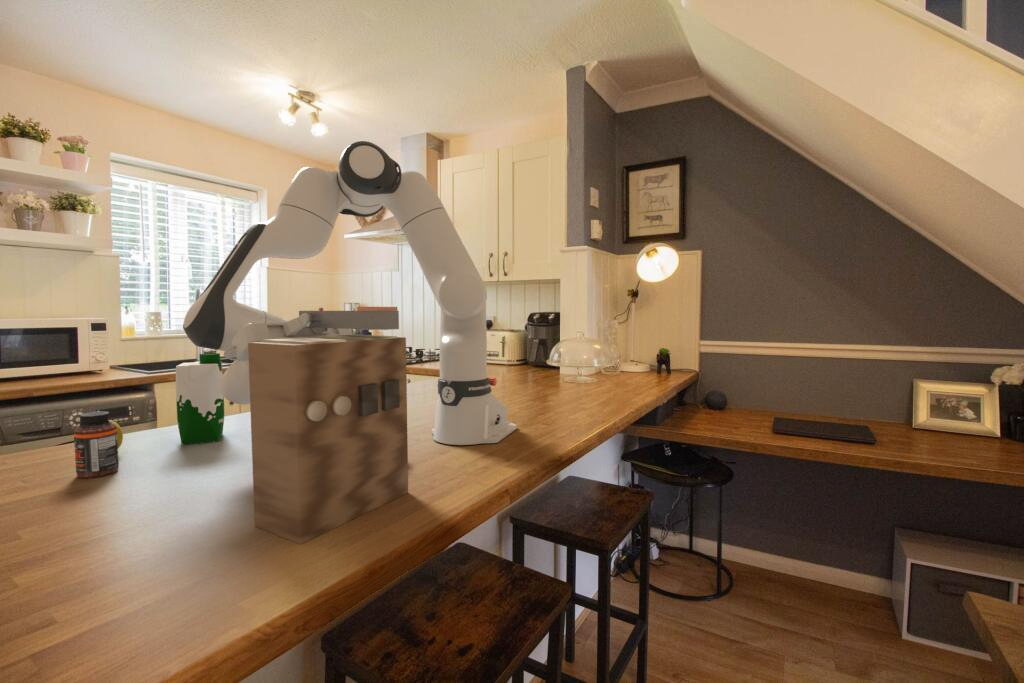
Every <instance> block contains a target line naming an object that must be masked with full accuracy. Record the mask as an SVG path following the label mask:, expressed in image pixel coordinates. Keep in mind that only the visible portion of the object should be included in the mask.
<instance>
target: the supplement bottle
mask: <svg viewBox="0 0 1024 683" xmlns="http://www.w3.org/2000/svg"><path fill="white" fill-rule="evenodd" d="M110 418H111V417H110V412H109V411H103V410H102V411H101V410H100V411H98V410H97V411H91V412H86V413H81V414H80V416H79V419H80V420H79V422H80V423H79V426H77V427H75V428H74V431H73V442H74V456H75V458H74V459H75V472H76V476H77V477H79V478H82V479H92V478H93V477H94V478H100V477H99V476H101V477H105V476H108V475H111V474H113V473H115V472H117V471H118V470H119V468H120V466H119V464H120V463H119V448H118V441H117V427H116V425H115V424H114V423H112V422H110V421H108V420H109V419H110ZM104 475H105V476H104ZM94 478H93V479H94Z"/></svg>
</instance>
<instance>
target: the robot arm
mask: <svg viewBox="0 0 1024 683" xmlns="http://www.w3.org/2000/svg"><path fill="white" fill-rule="evenodd" d="M383 208H385V209H387V210H388V211H389V212H390V213H391V214H392V215H393V216H394V218H395V219H396V221H397V223H398V225H399V228H400V229H401V232H402V233H403V235H404V236H405V239H406V240H407V243H408V245H409V247H410V249H411V251H412V252H413V254H414V256H415V258H416V260H417V262H418V264H419V266H420V269H421V271H422V273H423V275H424V277H425V279H426V281H427V282H428V285H429V287H430V289H431V292H432V294H433V297H435V300H436V302H437V304H438V306H439V307H440V308H439V309H440V324H439V325H440V326H439V327H440V328H439V329H440V330H439V331H440V332H439V346H438V348H439V349H438V350H439V378H437V394H438V397H439V398H438V399H437V400H436V405H435V414H434V415H435V416H434V427H432V428H431V434H433V438H432V439H433V441H435V442H438V443H442V444H446V445H451V446H452V445H453V446H468V445H469V446H471V445H479V444H496V443H499V442H500V441H502V440H503V439H504V438H506V437H507V436H508V435H510V434H511V433H513V432H514V431H515V430H517V429H518V428H517V424H515V423H513V422H510V421H508V411H507V406H506V405H505V404H504V403H503V402H502V401H501V400H500V399H498V398H497V397H496V396H495V395H494V394H493V393H492V386H493V387H496V386H497V384H498V380H497V377H490V376H489V377H488V371H487V370H488V366H487V365H488V356H487V354H488V353H487V352H488V350H487V348H488V346H487V344H488V342H487V339H488V338H487V299H488V290H487V287H486V284H485V282H484V280H483V278H482V276H481V275H480V272H479V271H478V269H477V267H476V265H475V263H474V261H473V260H472V257H471V256H470V254H469V252H468V251H467V249H466V246H465V245H464V243H463V242H462V239H461V237H460V235H459V233H458V232H457V231H458V230H456V227H455V225H454V224H453V222H452V219H451V218H450V215H449V214H448V211H447V209H446V208H445V206H444V204H443V202H442V201H441V199H440V197H439V196H438V194H437V192H436V191H435V189H434V188H433V186H432V185H431V184H430V182H429V181H428V180H427V178H426V177H425V176H424V175H422V174H421V173H420V172H417V171H413V170H410V171H409V170H408V171H404V172H402V168H401V166H400V164H399V163H398V162H397V161H395V160H394V159H393V158H391V157H390V156H389V154H388V153H387V152H386V151H385V150H384V149H382V148H381V147H380V146H379V145H377V144H375V143H373V142H370V141H368V140H367V141H365V140H361V141H360V140H359V141H355V142H353V143H351V144H349V145H348V146H347V147H346V148H345V149H344V150H343V151H342V153H341V155H340V157H339V161H338V168H337V170H333V171H329V170H326V169H323V168H320V167H317V166H306V167H303V168H301V169H300V170H298V171H297V173H296V174H295V175H294V177H293V178H292V180H291V182H290V183H289V185H288V186H287V188H286V190H285V192H284V193H283V196H282V198H281V199H280V203H279V205H278V207H277V209H276V211H275V213H274V214H273V216H272V217H270V219H268V220H266V221H265V222H255V223H254V224H253V225H251V226H250V227H248V229H247V230H246V231H245V232H244V233H243V235H242V236H241V237H240V239H239V240H238V241H237V243H236V244H235V245H234V247H233V248H232V249H231V250H230V252H229V254H228V255H227V256H226V258H225V259H224V262H222V264H221V266H220V267H219V268H218V270H217V272H216V273H215V275H214V276H213V278H212V279H211V281H210V282H209V284H208V285H207V287H205V289H204V290H203V292H202V293H201V294H200V295H199V297H197V298H198V299H196V301H194V302H193V304H192V305H191V306H190V308H188V309H187V310H188V311H187V312H186V314H185V316H184V321H183V326H182V328H183V331H184V333H185V334H186V336H187V337H188V339H189V340H190V341H191V342H192V344H193V345H195V347H197V348H198V347H199V348H205V349H209V350H213V351H218V350H219V351H222V352H223V357H224V358H225V359H229V360H230V361H232V363H231V364H230V365H229V366H228V367H227V369H226V370H225V371H224V373H222V374H223V376H222V377H221V379H220V382H219V390H220V392H221V394H222V395H223V396H224V399H226V400H227V401H229V402H231V403H233V404H237V405H241V406H242V405H243V406H246V405H247V406H248V405H250V384H249V357H248V343H252V342H262V340H267V339H285V338H323V336H338V335H353V333H352V329H340V328H305V327H309V326H311V325H312V324H313V323H314V322H315V319H314V317H313V314H312V313H303V314H301V315H300V316H299V315H298V316H297V317H295V318H293V319H290V320H287V319H286V318H283V317H281V316H278V315H275V314H273V313H270V312H268V311H265V310H260V309H258V308H255V307H251V306H249V305H246V304H244V303H241V302H238V301H237V300H235V299H234V296H235V293H237V291H238V290H239V287H240V286H241V285H242V284H243V282H244V280H245V278H246V277H247V275H248V274H249V272H250V271H251V269H252V268H253V266H254V265H255V264H256V263H257V262H258V261H260V260H263V259H267V258H274V259H275V258H277V259H287V260H304V259H310V258H313V257H316V256H318V255H319V254H320V253H322V252H323V250H324V249H325V248H326V246H327V244H328V243H329V240H330V238H331V236H332V232H333V230H334V227H335V225H336V221H337V219H338V217H339V214H342V215H346V216H354V217H358V218H372V217H373V216H375V215H377V214H378V213H379V212H381V210H383Z"/></svg>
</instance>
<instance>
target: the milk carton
mask: <svg viewBox="0 0 1024 683" xmlns="http://www.w3.org/2000/svg"><path fill="white" fill-rule="evenodd" d="M222 365H223V363H222V361H221V354H220V353H216V352H215V353H214V352H212V353H208V352H207V353H201V354H199V361H194V362H182V363H180V364H178V365H176V366H175V398H176V399H175V400H176V401H175V402H176V419H177V427H178V433H179V438H180V444H181V445H182V444H186V445H191V444H190V443H196V444H202V443H201V442H206V443H214V442H213V441H216V442H219V441H220V439H221V437H222V436H223V432H224V422H225V397H224V396H223V395H222V394H221V392H220V390H219V382H220V379H221V377H222V376H223V374H224V373H223V366H222Z"/></svg>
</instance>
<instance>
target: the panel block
mask: <svg viewBox="0 0 1024 683" xmlns="http://www.w3.org/2000/svg"><path fill="white" fill-rule="evenodd" d="M248 357H249V384H250V404H249V405H250V407H249V408H250V429H251V430H250V432H251V456H252V457H251V458H252V461H251V462H252V482H253V483H252V484H253V514H254V516H253V518H254V527H255V528H258V529H261V530H263V531H266V532H268V533H271V534H273V535H276V536H278V537H281V538H283V539H286V540H288V541H290V542H294V543H296V544H298V545H302V544H304V543H306V542H308V541H311V540H312V539H315V538H317V537H319V536H321V535H322V534H323V535H324V534H325V533H327V532H329V531H331V530H333V529H335V528H337V527H340V526H342V525H343V524H345V523H348V522H350V521H351V520H354V519H356V518H359V517H360V516H362V515H364V514H366V513H369V512H370V511H372V510H375V509H377V508H379V507H381V506H383V505H386V504H387V503H390V502H392V501H393V500H396V499H398V498H400V497H402V496H403V495H406V494H408V493H409V458H408V457H409V456H408V453H409V452H408V451H409V450H408V449H409V448H408V445H409V444H408V396H407V395H408V393H407V392H408V390H407V387H408V386H407V380H408V378H407V338H406V337H405V336H404V337H401V336H397V335H375V334H373V335H372V334H352V335H338V336H323V338H285V339H267V340H262V342H252V343H248ZM401 495H402V496H401ZM399 496H400V497H399ZM397 497H398V498H397Z"/></svg>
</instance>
